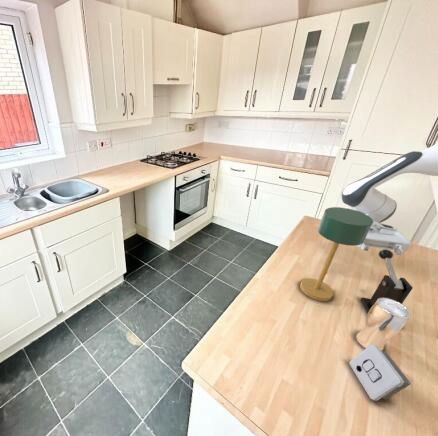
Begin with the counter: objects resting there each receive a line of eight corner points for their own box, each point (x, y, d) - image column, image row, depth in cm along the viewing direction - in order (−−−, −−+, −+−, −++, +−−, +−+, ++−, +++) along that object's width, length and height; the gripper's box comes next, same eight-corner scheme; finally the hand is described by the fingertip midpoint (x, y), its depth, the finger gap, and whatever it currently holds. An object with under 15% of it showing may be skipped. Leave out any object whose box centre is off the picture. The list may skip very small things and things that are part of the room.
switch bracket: (360, 299, 85) (377, 269, 79) (384, 304, 83) (404, 273, 77) (372, 320, 78) (392, 289, 71) (399, 326, 76) (422, 294, 69)
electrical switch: (347, 362, 66) (365, 342, 62) (367, 365, 66) (386, 345, 61) (371, 401, 58) (393, 381, 53) (393, 405, 58) (418, 385, 53)
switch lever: (375, 251, 83) (381, 246, 81) (387, 253, 83) (393, 248, 80) (386, 290, 76) (393, 286, 73) (400, 292, 75) (407, 288, 72)
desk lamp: (342, 296, 87) (382, 219, 72) (321, 308, 82) (358, 229, 67) (310, 275, 96) (339, 204, 81) (289, 285, 92) (316, 211, 77)
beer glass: (361, 351, 69) (385, 315, 62) (349, 330, 75) (370, 295, 68) (390, 356, 67) (418, 320, 60) (376, 334, 73) (400, 299, 66)
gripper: (336, 220, 95) (350, 238, 84) (400, 227, 90) (425, 248, 78) (330, 233, 98) (343, 253, 87) (392, 241, 93) (415, 263, 81)
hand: (382, 251), depth 82 cm, fingers open, 8 cm apart
